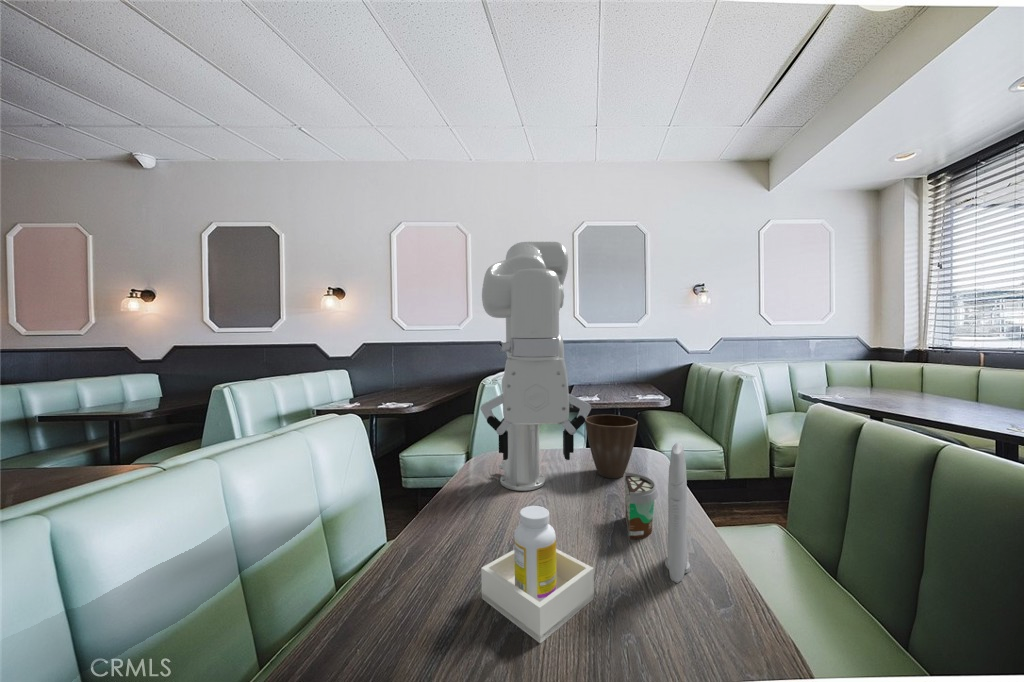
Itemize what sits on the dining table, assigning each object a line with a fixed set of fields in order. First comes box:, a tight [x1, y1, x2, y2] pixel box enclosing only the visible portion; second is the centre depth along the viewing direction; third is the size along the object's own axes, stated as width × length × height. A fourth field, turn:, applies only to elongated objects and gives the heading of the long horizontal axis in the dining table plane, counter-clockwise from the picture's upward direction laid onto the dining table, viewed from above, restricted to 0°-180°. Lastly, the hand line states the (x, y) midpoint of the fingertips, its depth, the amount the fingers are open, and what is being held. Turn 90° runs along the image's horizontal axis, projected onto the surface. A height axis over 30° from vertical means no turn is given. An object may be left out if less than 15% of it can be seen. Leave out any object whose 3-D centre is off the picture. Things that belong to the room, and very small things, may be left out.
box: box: [480, 548, 595, 644], centre depth 62 cm, size 13×13×5 cm
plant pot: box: [585, 414, 639, 479], centre depth 115 cm, size 15×15×16 cm
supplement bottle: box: [513, 505, 557, 602], centre depth 62 cm, size 7×7×13 cm
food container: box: [624, 471, 659, 540], centre depth 83 cm, size 12×6×10 cm, turn 168°
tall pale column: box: [664, 442, 691, 584], centre depth 70 cm, size 11×4×22 cm, turn 153°
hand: (536, 457), depth 62 cm, fingers open, 9 cm apart
